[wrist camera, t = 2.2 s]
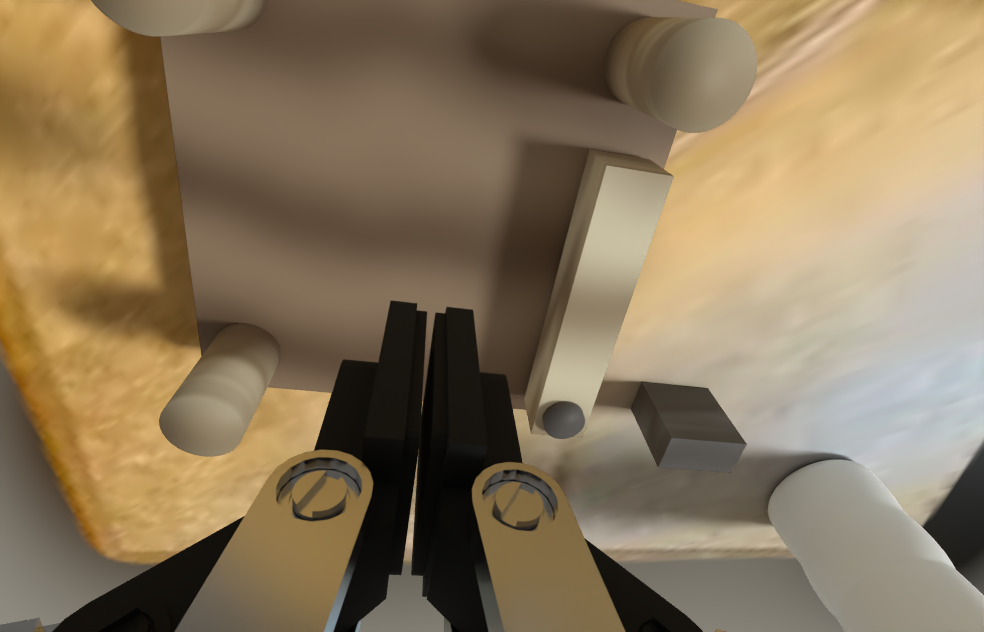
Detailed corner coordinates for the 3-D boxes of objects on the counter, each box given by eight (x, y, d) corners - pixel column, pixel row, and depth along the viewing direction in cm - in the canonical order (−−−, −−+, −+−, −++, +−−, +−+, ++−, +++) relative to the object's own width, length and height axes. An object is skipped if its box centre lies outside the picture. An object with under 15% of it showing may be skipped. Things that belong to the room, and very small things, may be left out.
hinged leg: (571, 403, 25) (584, 444, 23) (524, 398, 25) (532, 439, 23) (649, 159, 19) (678, 179, 17) (589, 149, 19) (609, 168, 17)
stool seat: (179, -101, 17) (11, -174, 10) (870, 49, 21) (1062, 65, 14) (227, 373, 26) (155, 489, 20) (695, 415, 30) (762, 524, 24)
